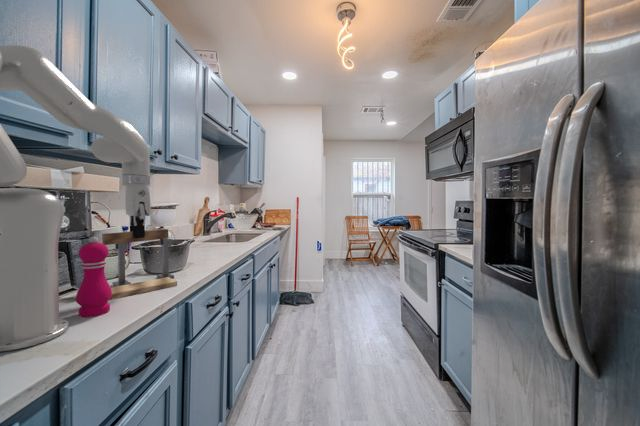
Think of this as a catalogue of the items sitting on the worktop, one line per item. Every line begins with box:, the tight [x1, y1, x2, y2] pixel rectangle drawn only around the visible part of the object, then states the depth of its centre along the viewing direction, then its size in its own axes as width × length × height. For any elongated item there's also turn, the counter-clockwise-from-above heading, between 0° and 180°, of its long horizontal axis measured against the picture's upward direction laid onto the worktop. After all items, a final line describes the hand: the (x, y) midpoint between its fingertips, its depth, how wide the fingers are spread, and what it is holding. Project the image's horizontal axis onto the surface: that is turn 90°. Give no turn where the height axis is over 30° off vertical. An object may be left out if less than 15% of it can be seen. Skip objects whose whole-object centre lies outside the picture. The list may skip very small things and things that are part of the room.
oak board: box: [108, 277, 178, 301], centre depth 89 cm, size 22×8×2 cm, turn 139°
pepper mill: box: [75, 236, 112, 318], centre depth 70 cm, size 7×7×20 cm
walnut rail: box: [101, 228, 170, 246], centre depth 89 cm, size 18×2×3 cm, turn 139°
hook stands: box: [111, 238, 175, 287], centre depth 99 cm, size 18×6×15 cm, turn 139°
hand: (137, 236), depth 89 cm, fingers closed on walnut rail, 2 cm apart
